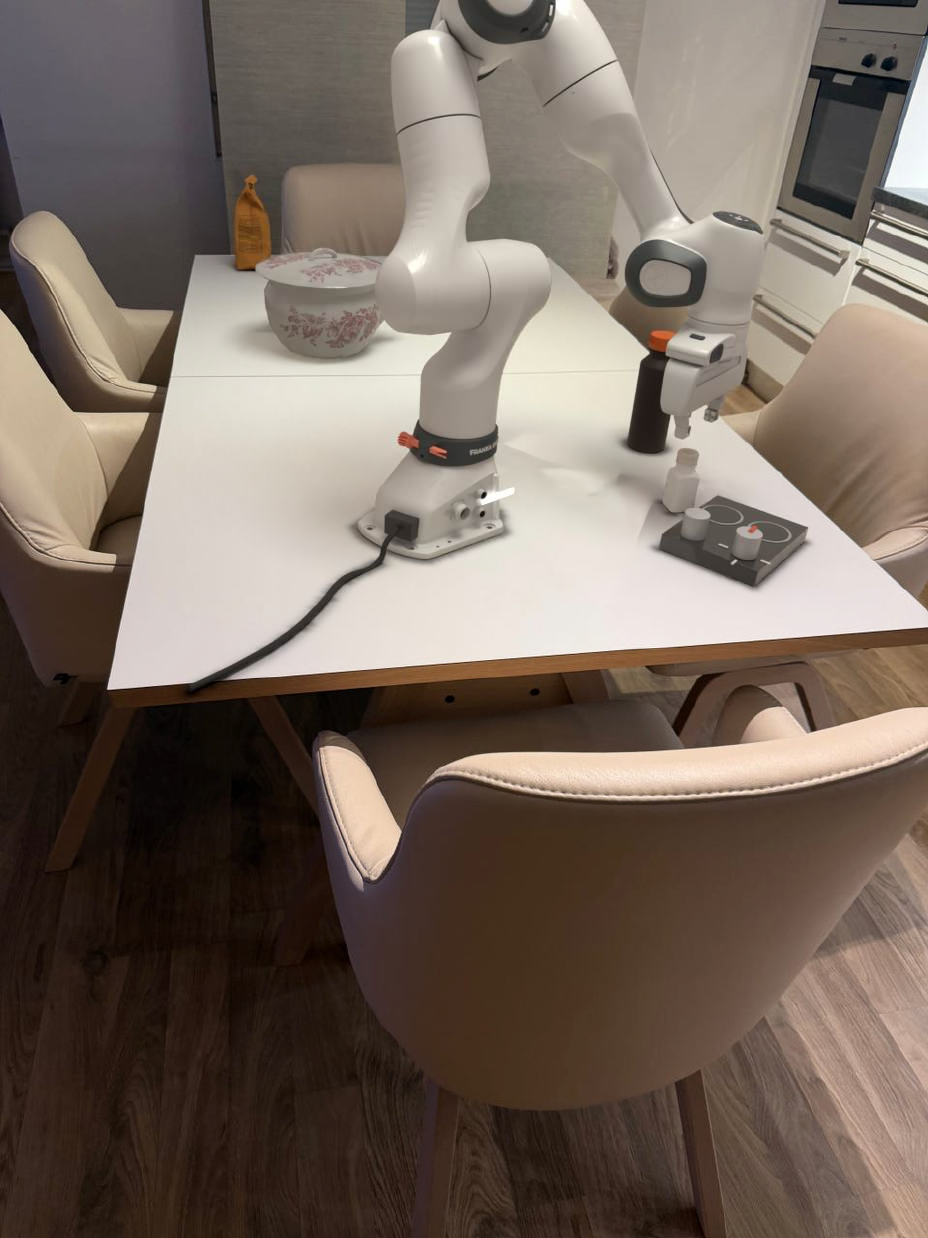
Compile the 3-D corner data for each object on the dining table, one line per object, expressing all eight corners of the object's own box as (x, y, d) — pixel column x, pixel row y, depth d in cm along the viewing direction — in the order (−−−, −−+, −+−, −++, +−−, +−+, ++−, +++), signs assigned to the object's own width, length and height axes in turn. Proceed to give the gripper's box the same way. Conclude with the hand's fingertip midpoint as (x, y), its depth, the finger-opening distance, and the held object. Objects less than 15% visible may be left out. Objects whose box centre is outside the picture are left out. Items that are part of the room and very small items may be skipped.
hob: (753, 590, 131) (758, 573, 130) (655, 550, 139) (658, 534, 137) (806, 542, 144) (811, 527, 142) (714, 508, 151) (717, 493, 150)
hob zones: (758, 566, 132) (764, 544, 130) (668, 532, 139) (673, 510, 137) (798, 532, 141) (804, 511, 139) (712, 501, 148) (717, 480, 146)
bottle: (638, 435, 175) (657, 325, 164) (671, 446, 172) (693, 335, 160) (619, 445, 170) (637, 333, 159) (652, 456, 167) (673, 343, 156)
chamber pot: (234, 356, 196) (227, 251, 185) (296, 322, 218) (293, 226, 207) (360, 379, 190) (360, 272, 178) (410, 341, 212) (413, 243, 200)
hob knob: (750, 563, 132) (756, 539, 130) (726, 554, 134) (732, 530, 132) (761, 554, 135) (767, 530, 133) (738, 545, 136) (744, 521, 134)
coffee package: (276, 261, 263) (272, 174, 250) (270, 272, 252) (265, 182, 240) (239, 259, 262) (233, 171, 250) (232, 270, 252) (225, 180, 239)
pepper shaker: (671, 514, 149) (682, 458, 144) (660, 502, 152) (671, 447, 147) (694, 512, 150) (706, 456, 145) (682, 501, 153) (694, 445, 148)
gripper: (726, 318, 144) (708, 405, 152) (660, 346, 130) (644, 441, 138) (765, 327, 141) (745, 416, 149) (702, 357, 127) (683, 453, 135)
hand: (696, 428), depth 143 cm, fingers open, 8 cm apart
